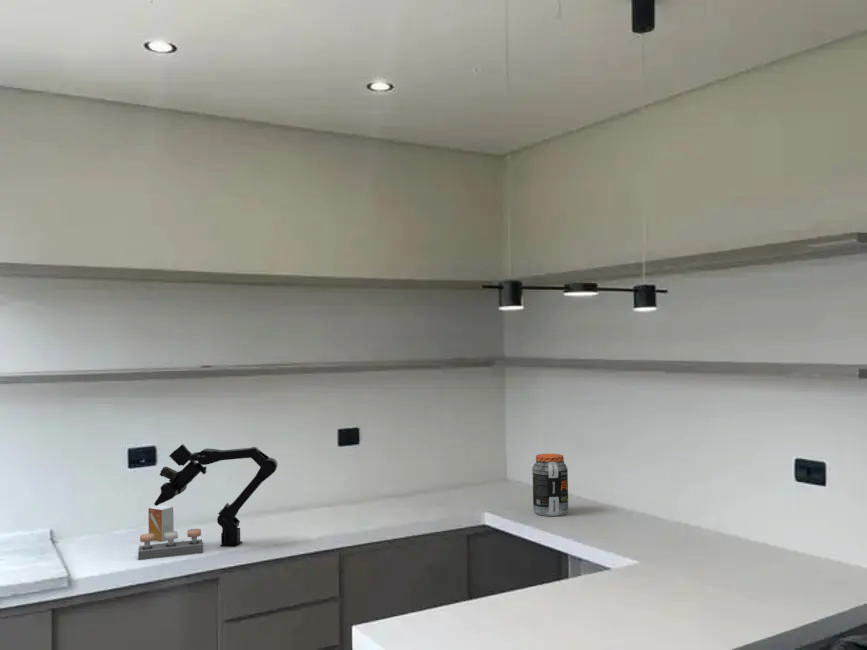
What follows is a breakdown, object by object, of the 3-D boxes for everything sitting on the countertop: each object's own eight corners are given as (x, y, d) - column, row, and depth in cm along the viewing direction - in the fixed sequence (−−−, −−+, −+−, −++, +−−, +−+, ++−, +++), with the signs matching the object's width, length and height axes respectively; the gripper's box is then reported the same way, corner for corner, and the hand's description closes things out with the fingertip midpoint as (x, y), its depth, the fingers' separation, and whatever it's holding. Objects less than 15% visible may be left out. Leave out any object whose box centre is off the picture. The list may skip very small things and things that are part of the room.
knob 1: (154, 546, 290) (154, 532, 290) (154, 549, 285) (154, 535, 285) (140, 547, 288) (140, 534, 288) (140, 551, 284) (139, 537, 284)
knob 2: (200, 541, 296) (200, 528, 296) (201, 544, 291) (201, 531, 291) (187, 542, 294) (187, 529, 294) (187, 545, 289) (187, 532, 289)
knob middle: (177, 543, 293) (177, 530, 293) (178, 547, 288) (177, 533, 288) (164, 545, 291) (163, 531, 291) (164, 548, 286) (163, 534, 287)
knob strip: (202, 546, 298) (202, 539, 298) (203, 552, 289) (202, 544, 289) (139, 553, 290) (139, 545, 290) (138, 559, 282) (138, 551, 282)
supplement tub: (568, 517, 331) (567, 458, 332) (532, 516, 334) (530, 458, 335) (568, 509, 347) (567, 452, 348) (534, 508, 350) (532, 452, 350)
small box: (148, 539, 311) (147, 507, 312) (160, 536, 317) (160, 504, 317) (162, 541, 307) (161, 509, 308) (174, 538, 313) (173, 506, 313)
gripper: (179, 457, 308) (150, 484, 306) (166, 462, 289) (136, 492, 288) (198, 476, 308) (170, 504, 306) (187, 483, 289) (157, 512, 288)
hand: (158, 502), depth 297 cm, fingers open, 9 cm apart
